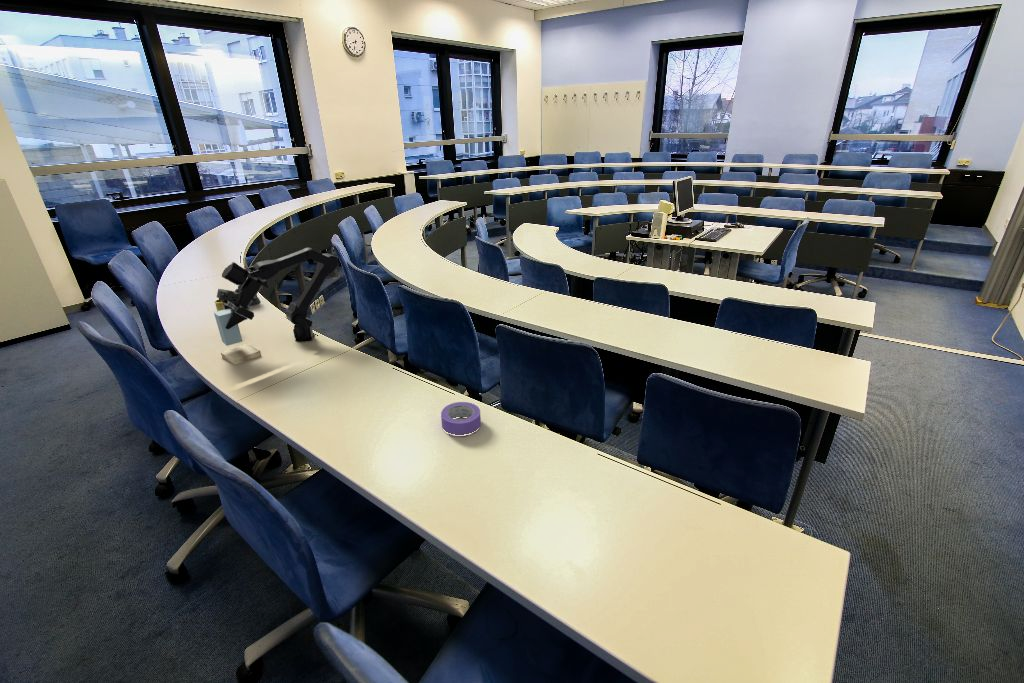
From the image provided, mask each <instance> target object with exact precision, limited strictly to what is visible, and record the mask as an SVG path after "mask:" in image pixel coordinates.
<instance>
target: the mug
mask: <svg viewBox="0 0 1024 683" xmlns="http://www.w3.org/2000/svg"><path fill="white" fill-rule="evenodd" d="M243 284H244V283H243ZM243 284H241V285H240V284H239V285H237V289H240V288H241V287H242V285H243ZM255 299H256V300H255V301H253V300H252V302H251V303H250V305H249V306H248V307H255V306H256V305H259V304H261V300H260V298H259V297H258V294H257V295H255Z"/></svg>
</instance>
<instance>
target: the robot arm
mask: <svg viewBox="0 0 1024 683" xmlns="http://www.w3.org/2000/svg"><path fill="white" fill-rule="evenodd" d="M308 260H313V261H316V262H317V263H316V270H315V272H314V274H313V275H312V277H311V279H309V282H308V283H307V285H306V287H305V289H304V290H303V292H302V294H301V295H300V297H299V298H298V300H297V301H296V302H292V301H291V302H289V305H288V307H287V308H285V310H286V311H285V317H286V318H287V320H288V321H289V322H290V323H292V325H293V330H292V331H293V336H294V339H295V340H294V342H311V341H313V339H314V337H315V334H316V333H314V332H313V320H311V319H310V318H309V317H308V314H309V309H310V308H309V307H310V305H311V303H312V302H313V300H314V298H315V297H316V295H317V294H318V292H319V290H320V289H321V287H322V285H323V283H324V282H325V280H326V279H327V278H328V277H329V276H330V275H332V274H333V273H334V272H335V271H336V270H337V269H338V267H339V265H340V264H339V263H340V262H339V259H338V258H337V257H336V256H335V255H332V254H330V253H328V252H327V253H326V252H325V253H322V252H319V251H317V250H315V249H313V248H311V247H305V248H303V249H300V250H298V251H295V252H292V253H290V254H287V255H285V256H281V257H280V258H276V259H266V260H261V261H258V262H256V263H255V264H254V265H251V266H248V267H245V268H243V267H242V266H241V265H239V264H238V263H236V261H235V262H234V261H233V262H231V264H228V265H227V267H225V268H224V270H223V271H222V274H221V278H223V279H224V280H227V281H229V282H231V283H233V284H234V285H236V286H238V285H239V284H240V285H241V284H243V283H244V284H243V285H242V287H241V288H240V289H238V288H236V289H235V290H230V289H222V288H218V290H217V292H216V293H217V294H216V298H217V299H220V300H221V301H222V302H225V304H223V303H222V305H223V307H224V310H225V309H229V308H230V309H231V310H230V311H231V317H230V319H229V321H228V323H227V325H226V327H225V328H226V329H230V328H232V327H233V326H235V325H237V324H238V325H239V324H240V323H241V322H244V321H246V320H250V321H252V320H253V319H254V317H255V313H254V311H252V310H251V309H250V306H249V305H250V303H251V302H252V300H253V301H255V300H256V299H255V295H257V296H258V293H259V292H260V290H261V289H262V288H263V287H264V288H266V289H269V284H268V280H270V279H272V278H274V277H275V276H277V275H278V274H279V273H280V272H282V271H283V270H285V269H287V268H290V267H293V266H296V265H299V264H301V263H303V262H306V261H308Z"/></svg>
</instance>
